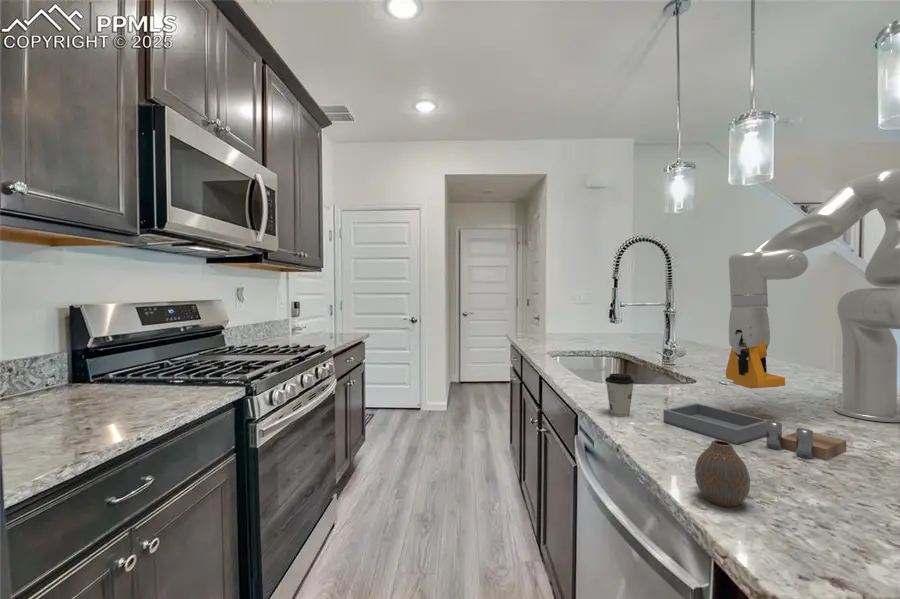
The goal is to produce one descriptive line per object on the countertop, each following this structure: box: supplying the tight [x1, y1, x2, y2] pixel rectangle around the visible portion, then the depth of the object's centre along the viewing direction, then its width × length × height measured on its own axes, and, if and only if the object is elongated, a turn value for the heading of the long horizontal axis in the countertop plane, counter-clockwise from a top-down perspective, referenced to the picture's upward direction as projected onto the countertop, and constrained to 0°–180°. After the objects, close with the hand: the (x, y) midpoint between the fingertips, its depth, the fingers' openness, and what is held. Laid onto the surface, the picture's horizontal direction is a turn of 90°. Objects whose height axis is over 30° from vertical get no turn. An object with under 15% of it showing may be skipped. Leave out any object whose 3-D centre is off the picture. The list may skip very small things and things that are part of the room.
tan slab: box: [781, 432, 847, 461], centre depth 81 cm, size 9×7×2 cm
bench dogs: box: [766, 420, 814, 460], centre depth 80 cm, size 2×7×5 cm, turn 26°
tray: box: [663, 402, 770, 446], centre depth 94 cm, size 13×17×3 cm
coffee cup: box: [604, 373, 635, 418], centre depth 105 cm, size 7×7×10 cm
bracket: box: [725, 341, 786, 389], centre depth 103 cm, size 11×7×12 cm
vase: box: [694, 439, 751, 508], centre depth 62 cm, size 7×7×9 cm
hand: (752, 373), depth 103 cm, fingers closed on bracket, 4 cm apart
